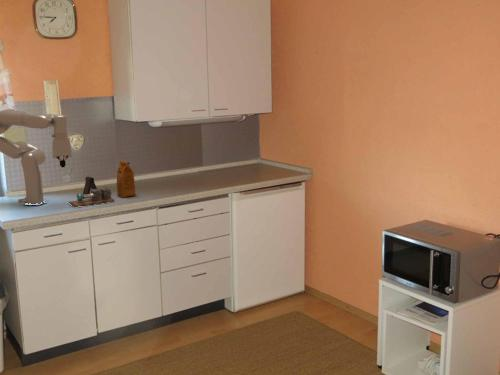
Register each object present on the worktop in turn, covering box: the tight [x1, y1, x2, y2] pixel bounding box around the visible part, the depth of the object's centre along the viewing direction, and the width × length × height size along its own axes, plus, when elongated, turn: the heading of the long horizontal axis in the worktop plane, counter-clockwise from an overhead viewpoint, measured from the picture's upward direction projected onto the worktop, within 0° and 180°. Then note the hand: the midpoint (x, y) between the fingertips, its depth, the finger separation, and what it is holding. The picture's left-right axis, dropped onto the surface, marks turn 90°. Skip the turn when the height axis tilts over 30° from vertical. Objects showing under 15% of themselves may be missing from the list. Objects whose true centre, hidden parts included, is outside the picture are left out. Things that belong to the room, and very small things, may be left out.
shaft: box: [76, 192, 104, 201], centre depth 357 cm, size 20×4×4 cm, turn 122°
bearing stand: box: [68, 187, 115, 208], centre depth 356 cm, size 24×12×8 cm, turn 122°
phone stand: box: [82, 176, 98, 195], centre depth 375 cm, size 9×6×12 cm, turn 131°
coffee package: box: [116, 159, 136, 198], centre depth 372 cm, size 10×12×22 cm
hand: (62, 167), depth 352 cm, fingers closed
